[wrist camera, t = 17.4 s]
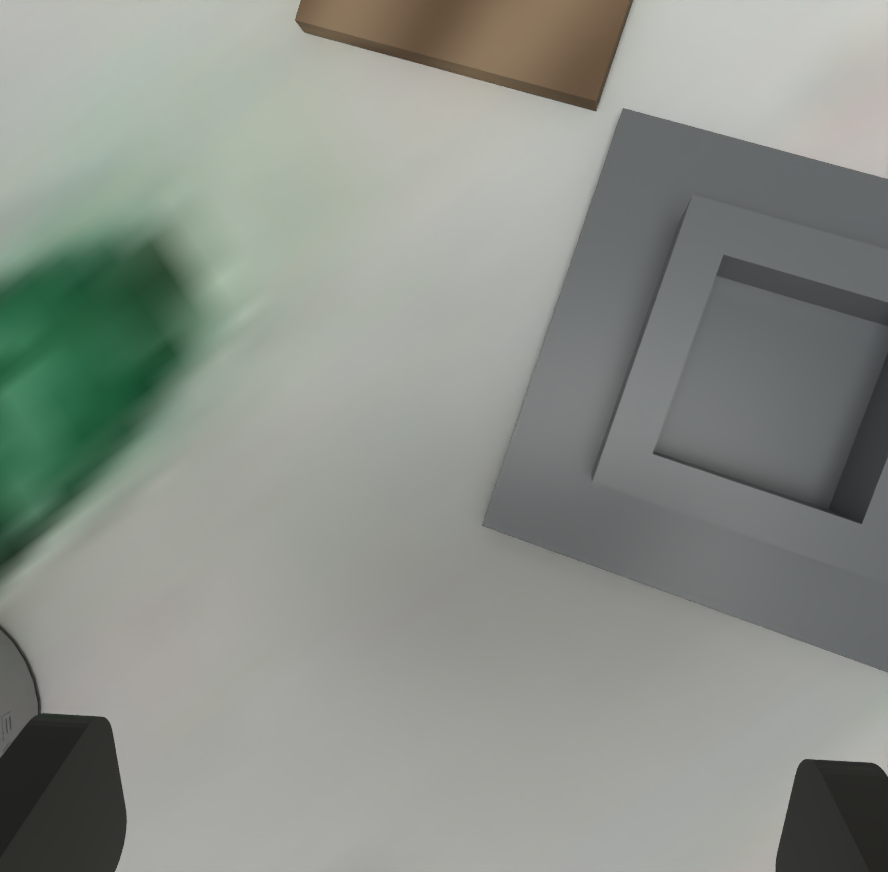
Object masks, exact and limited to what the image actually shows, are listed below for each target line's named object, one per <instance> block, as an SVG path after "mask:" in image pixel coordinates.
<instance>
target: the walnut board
mask: <svg viewBox="0 0 888 872" xmlns="http://www.w3.org/2000/svg"><path fill="white" fill-rule="evenodd" d="M632 2H633V0H301V2H300V5H299V8H298V12H297V15H296V19H295V21H296V22H297V23H298V25H299V26H300V27H301V29H302V30H303V31H304V32H306V33H309V34H313V35H317V36H320V37H324V38H328V39H331V40H335V41H339V42H343V43H346V44H350V45H354V46H357V47H361V48H365V49H368V50H372V51H376V52H380V53H383V54H387V55H391V56H394V57H398V58H402V59H405V60H409V61H413V62H417V63H420V64H424V65H428V66H431V67H435V68H439V69H442V70H446V71H450V72H453V73H457V74H461V75H465V76H468V77H472V78H476V79H479V80H483V81H487V82H490V83H494V84H498V85H502V86H505V87H509V88H513V89H516V90H520V91H524V92H527V93H531V94H535V95H539V96H542V97H546V98H550V99H553V100H557V101H561V102H564V103H568V104H572V105H575V106H579V107H583V108H587V109H590V110H594V111H596V109H597V106H598V103H599V100H600V97H601V94H602V91H603V88H604V85H605V82H606V79H607V76H608V73H609V70H610V67H611V64H612V61H613V58H614V55H615V52H616V49H617V47H618V44H619V41H620V38H621V35H622V32H623V29H624V26H625V23H626V20H627V17H628V14H629V11H630V8H631V5H632Z"/></svg>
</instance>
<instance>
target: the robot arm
mask: <svg viewBox="0 0 888 872" xmlns="http://www.w3.org/2000/svg"><path fill="white" fill-rule="evenodd" d="M126 823H127V817H126V808H125V802H124V796H123V790H122V784H121V778H120V773H119V767H118V761H117V755H116V749H115V743H114V738H113V732H112V728H111V725H110V722H109V721H108V720H107V719H106V718H105V717H98V716H81V715H63V714H46V713H42V714H38V702H37V697H36V692H35V688H34V683H33V680H32V677H31V675H30V672H29V670H28V668H27V665H26V663H25V660H24V659H23V657H22V656H21V654H20V653H19V651H18V650H17V648H16V647H15V645H14V643H13V642H12V641H11V640H10V639H9V638H8V637H7V636H6V635H5V634H4V633H3V632H2V631H1V630H0V872H115V870H116V868H117V865H118V862H119V860H120V856H121V853H122V849H123V845H124V840H125V834H126ZM776 872H888V777H887V775H886V774H885V772H884V771H883V770H882V769H881V768H880V767H879V766H878V765H876V764H874V763H865V762H847V761H830V760H812V759H805V760H803V761H802V762H801V763H800V764H799V766H798V768H797V772H796V775H795V779H794V784H793V788H792V792H791V796H790V801H789V805H788V809H787V813H786V818H785V822H784V826H783V831H782V835H781V839H780V843H779V848H778V852H777V857H776Z"/></svg>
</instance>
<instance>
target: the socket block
mask: <svg viewBox="0 0 888 872" xmlns="http://www.w3.org/2000/svg"><path fill="white" fill-rule="evenodd" d="M482 526H485V527H487V528H490V529H493V530H496V531H498V532H501V533H504V534H507V535H509V536H512V537H515V538H518V539H521V540H523V541H526V542H529V543H532V544H534V545H537V546H540V547H543V548H545V549H548V550H551V551H554V552H556V553H559V554H562V555H565V556H568V557H570V558H573V559H576V560H579V561H581V562H584V563H587V564H590V565H592V566H595V567H598V568H601V569H603V570H606V571H609V572H612V573H615V574H617V575H620V576H623V577H626V578H628V579H631V580H634V581H637V582H639V583H642V584H645V585H648V586H651V587H653V588H656V589H659V590H662V591H664V592H667V593H670V594H673V595H675V596H678V597H681V598H684V599H686V600H689V601H692V602H695V603H698V604H700V605H703V606H706V607H709V608H711V609H714V610H717V611H720V612H722V613H725V614H728V615H731V616H733V617H736V618H739V619H742V620H745V621H747V622H750V623H753V624H756V625H758V626H761V627H764V628H767V629H769V630H772V631H775V632H778V633H780V634H783V635H786V636H789V637H792V638H794V639H797V640H800V641H803V642H805V643H808V644H811V645H814V646H816V647H819V648H822V649H825V650H828V651H830V652H833V653H836V654H839V655H841V656H844V657H847V658H850V659H852V660H855V661H858V662H861V663H863V664H866V665H869V666H872V667H875V668H877V669H880V670H883V671H886V672H888V179H885V178H881V177H877V176H874V175H870V174H866V173H862V172H859V171H855V170H851V169H847V168H844V167H840V166H836V165H833V164H829V163H825V162H821V161H818V160H814V159H810V158H806V157H803V156H799V155H795V154H792V153H788V152H784V151H780V150H777V149H773V148H769V147H766V146H762V145H758V144H754V143H751V142H747V141H743V140H739V139H736V138H732V137H728V136H725V135H721V134H717V133H713V132H710V131H706V130H702V129H698V128H695V127H691V126H687V125H684V124H680V123H676V122H672V121H669V120H665V119H661V118H658V117H654V116H650V115H646V114H643V113H639V112H635V111H631V110H628V109H624V108H623V110H622V113H621V116H620V119H619V122H618V124H617V127H616V130H615V133H614V136H613V139H612V142H611V145H610V148H609V151H608V154H607V157H606V160H605V163H604V166H603V169H602V172H601V175H600V178H599V181H598V184H597V187H596V190H595V193H594V195H593V198H592V201H591V204H590V207H589V210H588V213H587V216H586V219H585V222H584V225H583V228H582V231H581V234H580V237H579V240H578V243H577V246H576V249H575V252H574V255H573V258H572V261H571V263H570V266H569V269H568V272H567V275H566V278H565V281H564V284H563V287H562V290H561V293H560V296H559V299H558V302H557V305H556V308H555V311H554V314H553V317H552V320H551V323H550V326H549V329H548V332H547V334H546V337H545V340H544V343H543V346H542V349H541V352H540V355H539V358H538V361H537V364H536V367H535V370H534V373H533V376H532V379H531V382H530V385H529V388H528V391H527V394H526V397H525V400H524V402H523V405H522V408H521V411H520V414H519V417H518V420H517V423H516V426H515V429H514V432H513V435H512V438H511V441H510V444H509V447H508V450H507V453H506V456H505V459H504V462H503V465H502V468H501V471H500V473H499V476H498V479H497V482H496V485H495V488H494V491H493V494H492V497H491V500H490V503H489V506H488V509H487V512H486V515H485V518H484V521H483V524H482Z"/></svg>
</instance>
